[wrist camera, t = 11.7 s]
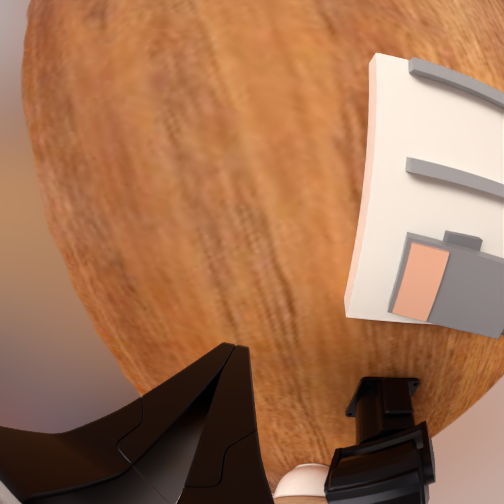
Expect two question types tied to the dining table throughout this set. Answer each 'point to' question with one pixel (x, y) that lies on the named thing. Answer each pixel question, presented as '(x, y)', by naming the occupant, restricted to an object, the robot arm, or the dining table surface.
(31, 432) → the robot arm
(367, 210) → the panel
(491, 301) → the rocker switch
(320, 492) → the lidded jar
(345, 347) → the dining table surface
